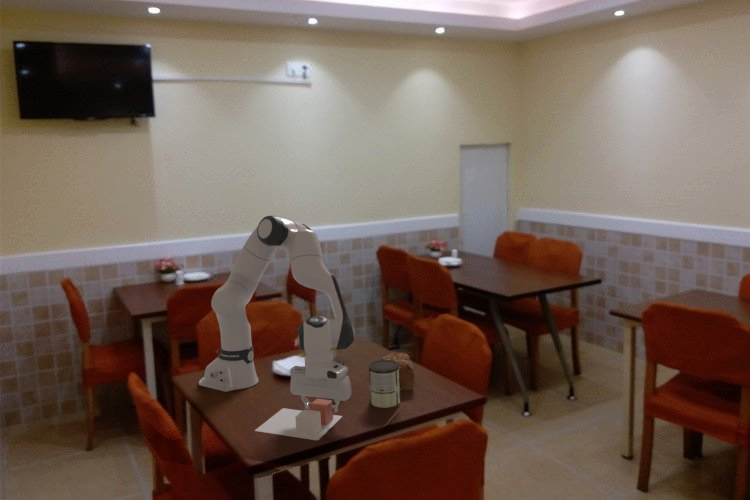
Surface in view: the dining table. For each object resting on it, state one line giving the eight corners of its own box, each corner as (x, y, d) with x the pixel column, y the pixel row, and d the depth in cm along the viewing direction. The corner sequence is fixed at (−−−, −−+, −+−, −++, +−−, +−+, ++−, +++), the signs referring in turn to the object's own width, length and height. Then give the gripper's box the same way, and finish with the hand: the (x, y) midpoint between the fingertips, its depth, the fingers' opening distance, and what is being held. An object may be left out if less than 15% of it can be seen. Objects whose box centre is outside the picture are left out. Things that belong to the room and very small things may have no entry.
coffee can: (365, 401, 225) (364, 362, 222) (393, 396, 228) (392, 357, 226) (376, 412, 215) (375, 372, 213) (405, 407, 219) (404, 367, 216)
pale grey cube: (296, 435, 199) (295, 416, 198) (305, 427, 204) (304, 409, 203) (313, 437, 196) (312, 418, 195) (321, 429, 202) (320, 411, 201)
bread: (415, 391, 232) (414, 364, 231) (385, 393, 232) (384, 366, 230) (409, 373, 251) (408, 348, 249) (381, 374, 250) (380, 349, 249)
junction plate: (254, 433, 203) (254, 430, 203) (283, 410, 219) (283, 408, 219) (317, 443, 195) (317, 440, 195) (342, 419, 211) (342, 416, 211)
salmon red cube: (309, 423, 207) (308, 405, 206) (317, 416, 212) (316, 398, 211) (325, 425, 205) (324, 407, 204) (333, 418, 210) (332, 400, 209)
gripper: (285, 368, 206) (287, 409, 209) (344, 375, 199) (346, 417, 201) (294, 361, 212) (297, 402, 214) (352, 368, 205) (354, 409, 207)
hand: (321, 409), depth 208 cm, fingers open, 8 cm apart
